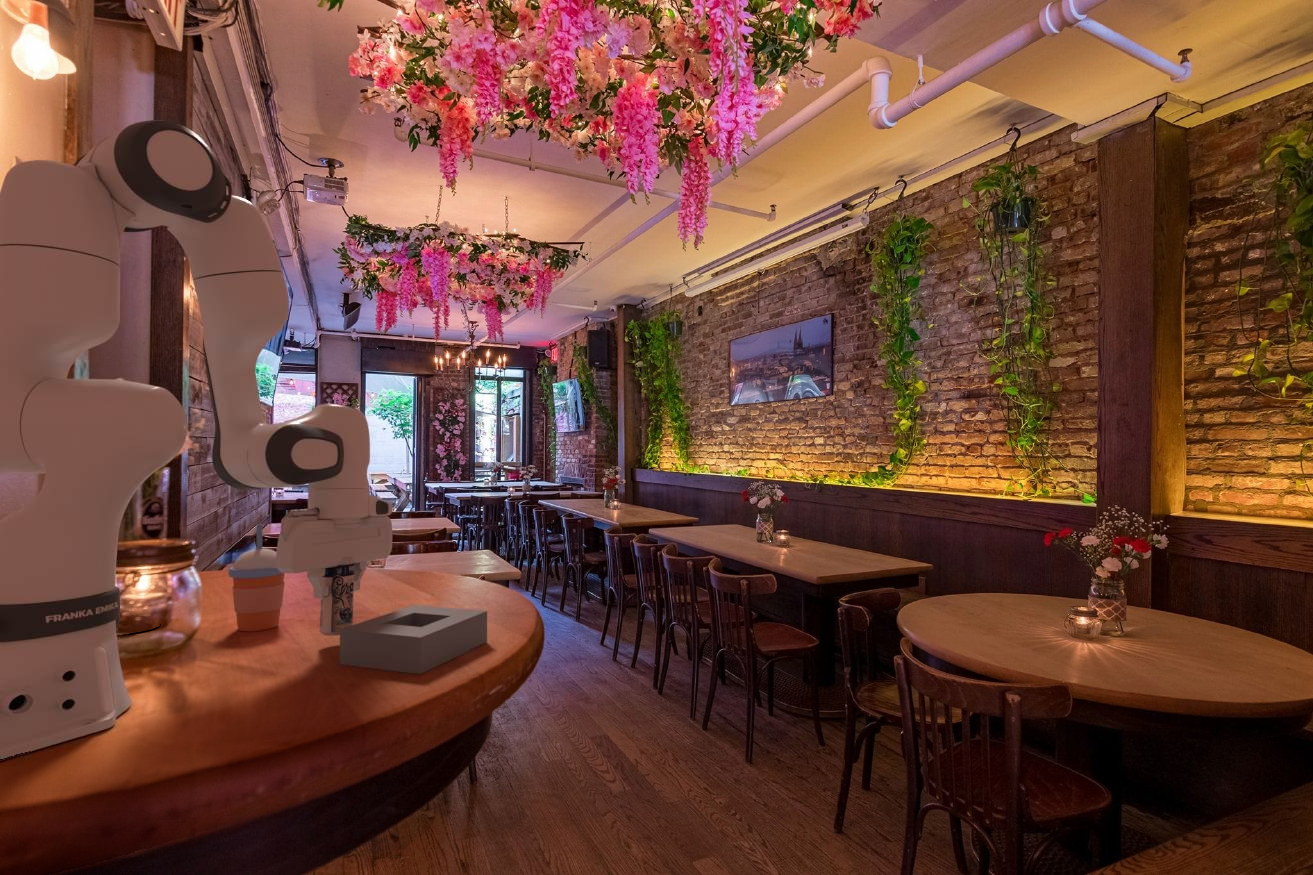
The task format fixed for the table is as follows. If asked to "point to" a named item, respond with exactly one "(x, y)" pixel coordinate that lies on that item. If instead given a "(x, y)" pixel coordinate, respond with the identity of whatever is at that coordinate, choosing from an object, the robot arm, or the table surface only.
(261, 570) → the cup with straw
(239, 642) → the table surface
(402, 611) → the holder block
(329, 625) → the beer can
